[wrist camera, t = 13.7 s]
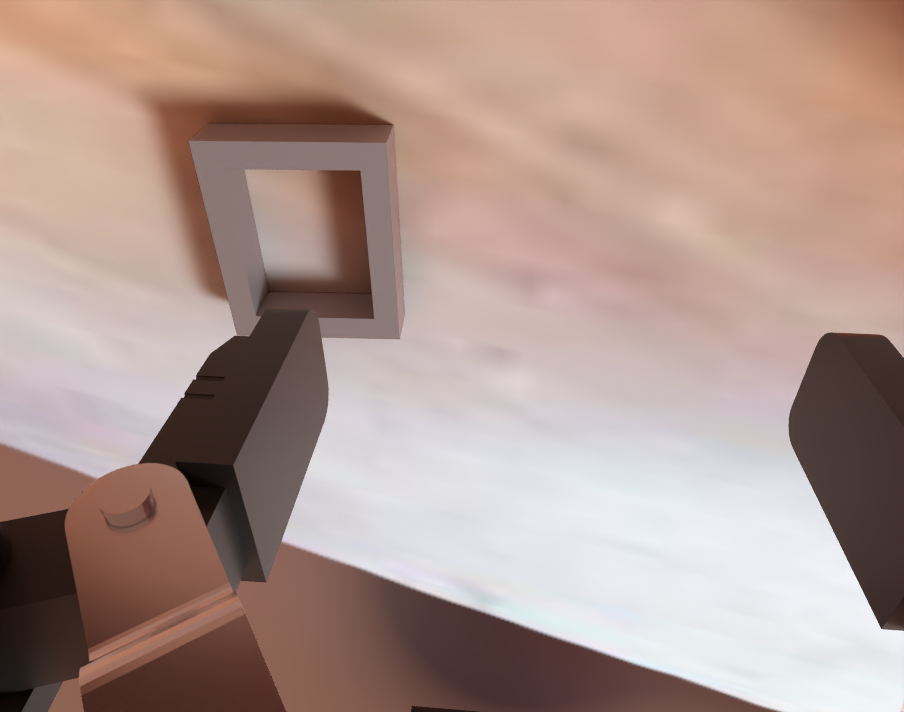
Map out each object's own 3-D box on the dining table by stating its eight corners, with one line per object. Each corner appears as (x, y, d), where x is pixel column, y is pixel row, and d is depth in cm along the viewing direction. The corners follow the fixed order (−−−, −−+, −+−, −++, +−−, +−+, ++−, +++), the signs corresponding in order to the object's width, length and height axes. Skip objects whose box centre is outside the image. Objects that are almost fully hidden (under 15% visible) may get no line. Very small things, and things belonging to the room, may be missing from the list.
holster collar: (393, 124, 36) (386, 143, 34) (404, 313, 44) (399, 339, 41) (208, 123, 37) (188, 140, 34) (251, 310, 44) (237, 335, 42)
